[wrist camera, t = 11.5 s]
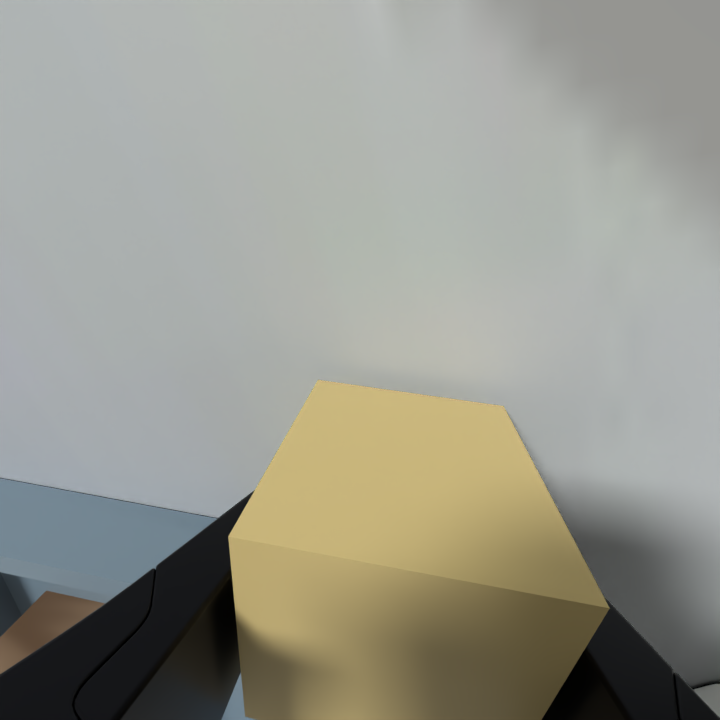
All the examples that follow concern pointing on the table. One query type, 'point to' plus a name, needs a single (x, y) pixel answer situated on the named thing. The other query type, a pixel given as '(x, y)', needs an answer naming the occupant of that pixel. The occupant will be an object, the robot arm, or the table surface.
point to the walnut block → (42, 625)
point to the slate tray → (84, 549)
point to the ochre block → (405, 567)
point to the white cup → (710, 696)
